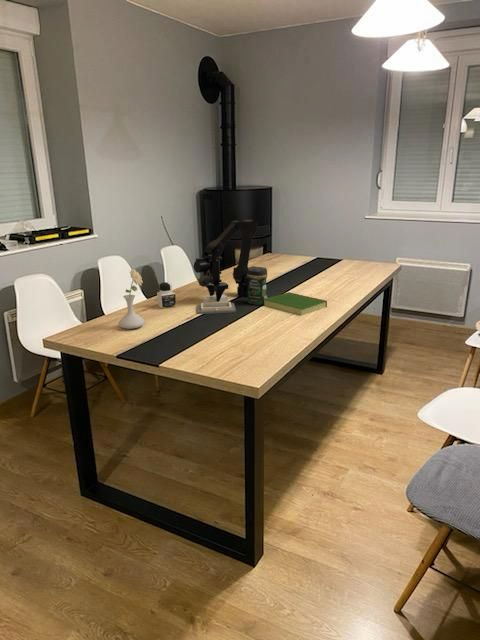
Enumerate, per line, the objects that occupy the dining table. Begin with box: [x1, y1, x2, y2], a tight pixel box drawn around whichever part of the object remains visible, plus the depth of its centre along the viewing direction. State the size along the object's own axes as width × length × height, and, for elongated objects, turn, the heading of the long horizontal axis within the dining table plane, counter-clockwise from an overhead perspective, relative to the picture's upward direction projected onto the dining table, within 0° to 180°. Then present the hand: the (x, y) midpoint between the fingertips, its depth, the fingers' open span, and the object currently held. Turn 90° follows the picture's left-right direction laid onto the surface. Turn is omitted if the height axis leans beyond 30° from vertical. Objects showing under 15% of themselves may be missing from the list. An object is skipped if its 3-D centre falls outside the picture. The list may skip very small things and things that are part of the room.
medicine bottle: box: [156, 281, 177, 310], centre depth 238 cm, size 7×7×12 cm
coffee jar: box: [247, 265, 268, 306], centre depth 240 cm, size 10×8×19 cm
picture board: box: [196, 301, 237, 315], centre depth 233 cm, size 18×13×2 cm
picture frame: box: [202, 294, 229, 303], centre depth 245 cm, size 11×6×3 cm, turn 127°
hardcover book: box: [263, 291, 328, 316], centre depth 236 cm, size 25×19×4 cm
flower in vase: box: [117, 268, 146, 330], centre depth 208 cm, size 13×11×25 cm
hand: (215, 300), depth 245 cm, fingers open, 6 cm apart
